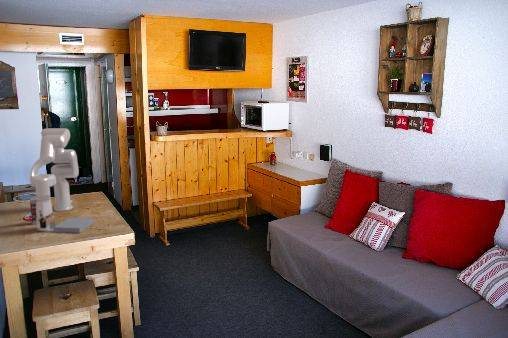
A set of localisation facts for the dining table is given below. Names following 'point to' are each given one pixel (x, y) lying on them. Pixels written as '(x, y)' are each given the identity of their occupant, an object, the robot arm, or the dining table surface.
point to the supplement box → (33, 210)
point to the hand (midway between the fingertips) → (46, 225)
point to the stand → (73, 225)
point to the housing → (47, 223)
